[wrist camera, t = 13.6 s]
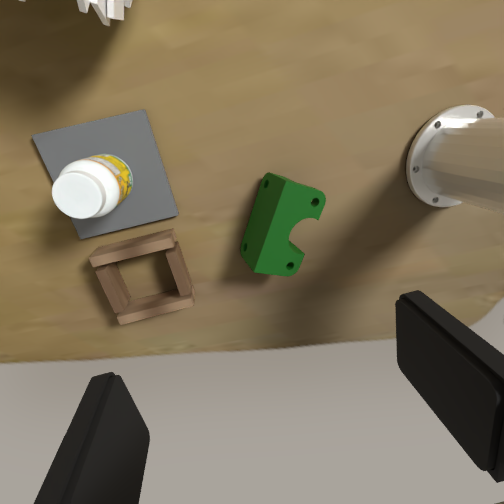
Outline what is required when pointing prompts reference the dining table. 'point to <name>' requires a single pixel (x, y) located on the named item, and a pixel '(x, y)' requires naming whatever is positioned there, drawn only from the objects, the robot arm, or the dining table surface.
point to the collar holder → (117, 288)
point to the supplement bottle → (92, 186)
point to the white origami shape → (105, 8)
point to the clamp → (278, 224)
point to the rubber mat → (127, 149)
